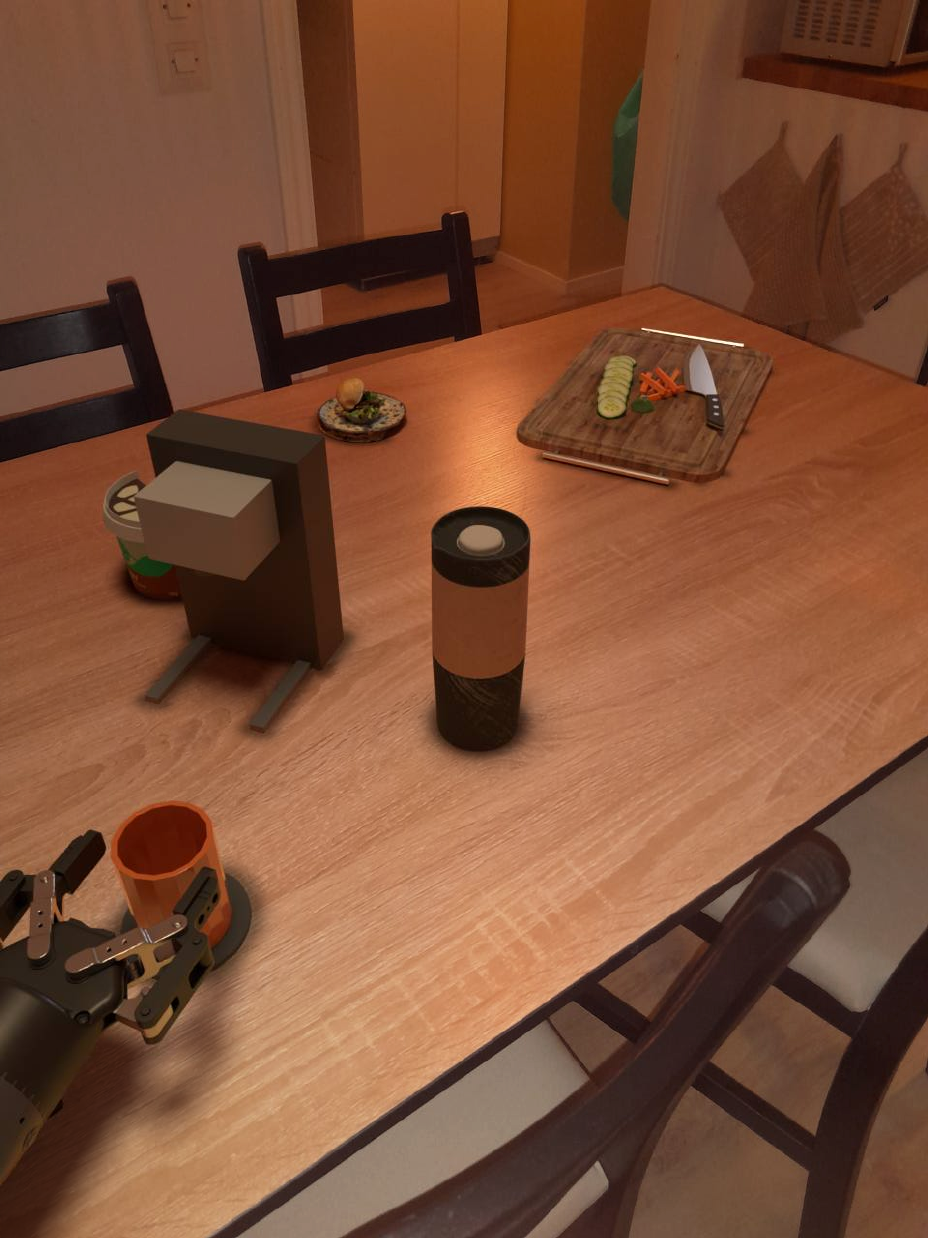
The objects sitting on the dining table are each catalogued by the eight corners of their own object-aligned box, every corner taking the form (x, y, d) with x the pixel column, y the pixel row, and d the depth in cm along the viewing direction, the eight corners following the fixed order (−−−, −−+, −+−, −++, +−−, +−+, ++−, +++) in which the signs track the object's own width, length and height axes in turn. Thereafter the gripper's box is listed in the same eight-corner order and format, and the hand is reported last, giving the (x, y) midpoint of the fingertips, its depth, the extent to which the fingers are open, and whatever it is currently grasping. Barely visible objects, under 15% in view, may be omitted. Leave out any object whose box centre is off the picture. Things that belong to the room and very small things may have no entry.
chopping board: (608, 327, 155) (610, 308, 153) (778, 355, 147) (782, 336, 145) (502, 451, 123) (502, 429, 121) (710, 497, 115) (715, 474, 113)
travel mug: (537, 715, 86) (551, 524, 73) (490, 768, 81) (496, 573, 68) (465, 682, 89) (467, 494, 76) (416, 731, 84) (409, 538, 72)
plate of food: (395, 447, 124) (392, 393, 119) (306, 439, 125) (300, 385, 121) (415, 406, 133) (414, 354, 128) (332, 399, 135) (328, 347, 130)
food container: (100, 570, 102) (77, 488, 96) (153, 548, 106) (134, 468, 99) (155, 625, 95) (134, 540, 89) (211, 599, 99) (194, 516, 92)
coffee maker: (136, 699, 87) (76, 486, 73) (218, 609, 97) (178, 408, 84) (274, 737, 83) (238, 521, 70) (344, 639, 94) (325, 435, 80)
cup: (119, 934, 67) (89, 853, 62) (183, 869, 72) (160, 787, 66) (188, 976, 65) (163, 896, 59) (251, 906, 69) (232, 824, 64)
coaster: (94, 945, 67) (92, 940, 67) (183, 854, 74) (182, 849, 73) (192, 1005, 64) (190, 1000, 64) (277, 904, 70) (276, 899, 70)
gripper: (73, 1107, 46) (244, 849, 58) (-158, 1013, 50) (48, 788, 62) (108, 1174, 51) (260, 922, 63) (-105, 1083, 55) (76, 862, 67)
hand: (154, 856), depth 62 cm, fingers open, 8 cm apart
